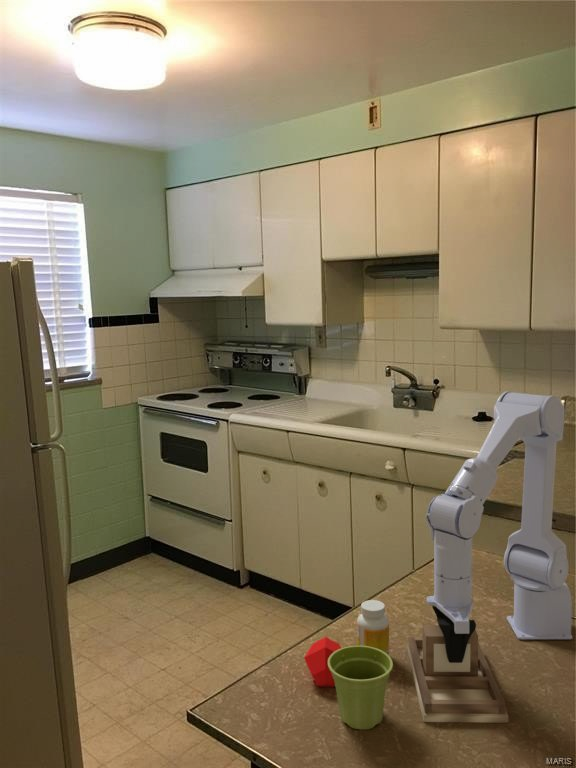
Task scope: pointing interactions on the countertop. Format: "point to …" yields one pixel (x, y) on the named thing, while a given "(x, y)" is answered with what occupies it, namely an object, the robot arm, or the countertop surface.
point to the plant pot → (360, 684)
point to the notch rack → (456, 692)
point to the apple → (321, 661)
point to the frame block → (437, 657)
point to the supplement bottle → (373, 626)
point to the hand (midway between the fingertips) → (452, 654)
